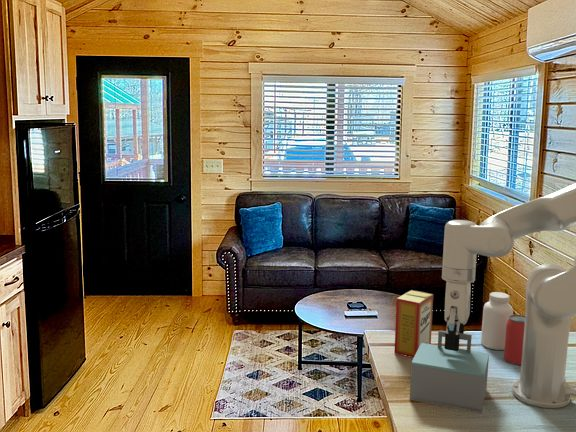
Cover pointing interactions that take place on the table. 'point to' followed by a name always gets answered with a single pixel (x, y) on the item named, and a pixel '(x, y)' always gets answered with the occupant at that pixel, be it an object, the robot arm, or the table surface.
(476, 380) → the carton
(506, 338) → the beer can
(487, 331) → the pill bottle
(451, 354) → the lid
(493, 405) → the table surface
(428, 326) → the baking soda box
